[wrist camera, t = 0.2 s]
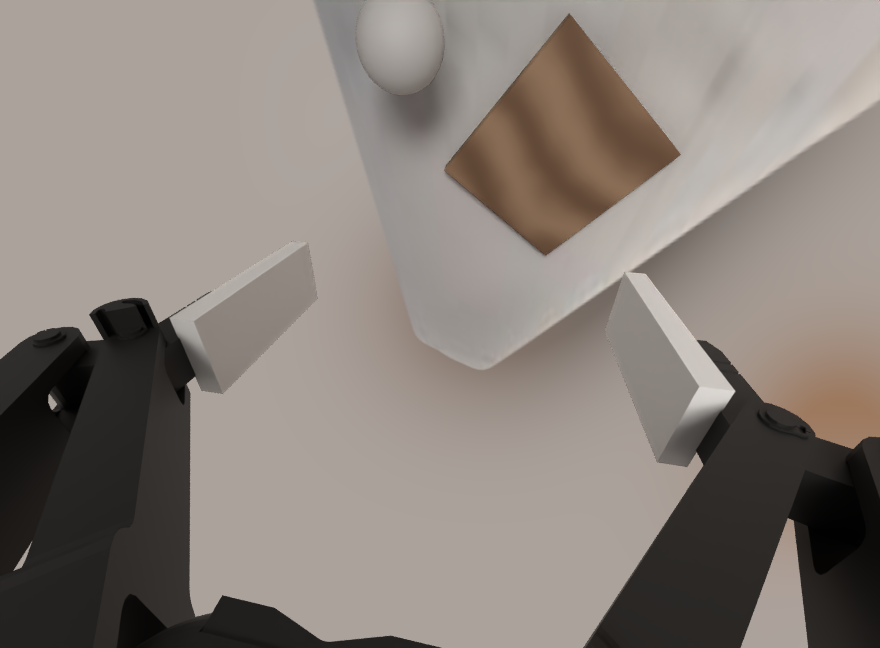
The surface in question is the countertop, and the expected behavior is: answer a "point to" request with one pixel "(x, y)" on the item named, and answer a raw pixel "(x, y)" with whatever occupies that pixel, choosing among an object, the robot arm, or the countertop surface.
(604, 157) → the plate
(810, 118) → the countertop surface
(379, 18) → the lightbulb
